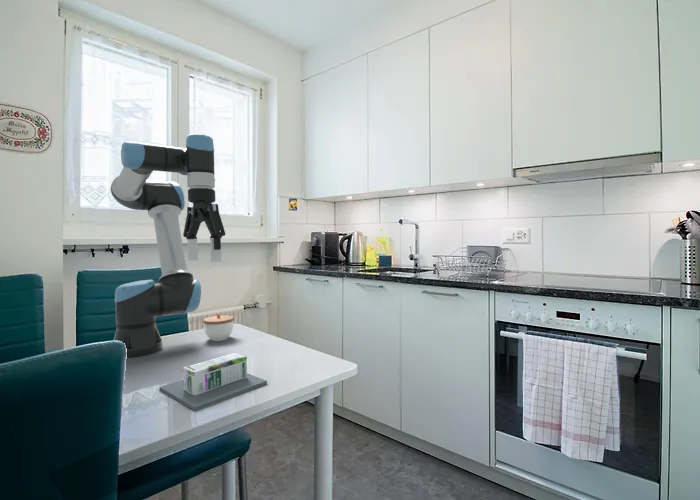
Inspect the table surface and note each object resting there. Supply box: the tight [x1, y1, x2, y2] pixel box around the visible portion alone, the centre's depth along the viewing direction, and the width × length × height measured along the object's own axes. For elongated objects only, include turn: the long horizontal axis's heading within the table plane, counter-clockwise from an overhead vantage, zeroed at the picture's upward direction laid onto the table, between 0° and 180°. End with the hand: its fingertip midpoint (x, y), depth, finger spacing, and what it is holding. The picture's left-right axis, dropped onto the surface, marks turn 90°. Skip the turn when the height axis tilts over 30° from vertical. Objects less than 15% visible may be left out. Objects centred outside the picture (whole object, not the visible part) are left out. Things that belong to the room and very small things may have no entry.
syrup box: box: [182, 352, 248, 395], centre depth 94 cm, size 6×6×14 cm
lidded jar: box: [202, 313, 235, 342], centre depth 140 cm, size 11×11×9 cm
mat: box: [159, 372, 268, 412], centre depth 94 cm, size 18×19×1 cm
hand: (204, 261), depth 111 cm, fingers open, 13 cm apart
